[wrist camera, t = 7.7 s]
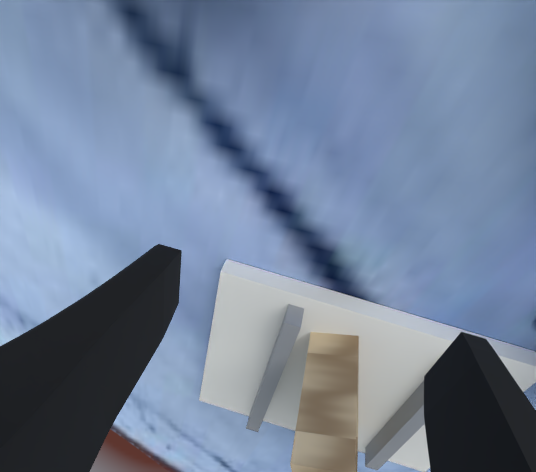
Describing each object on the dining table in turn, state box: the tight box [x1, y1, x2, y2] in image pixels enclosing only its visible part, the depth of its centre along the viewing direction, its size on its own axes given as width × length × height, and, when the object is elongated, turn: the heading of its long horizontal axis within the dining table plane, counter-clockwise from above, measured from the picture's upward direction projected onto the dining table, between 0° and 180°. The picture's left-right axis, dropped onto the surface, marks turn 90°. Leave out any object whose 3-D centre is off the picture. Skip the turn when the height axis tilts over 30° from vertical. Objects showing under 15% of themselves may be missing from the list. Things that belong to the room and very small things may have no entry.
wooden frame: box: [290, 332, 359, 472], centre depth 24 cm, size 3×11×8 cm, turn 8°
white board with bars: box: [199, 259, 536, 472], centre depth 27 cm, size 20×16×3 cm
